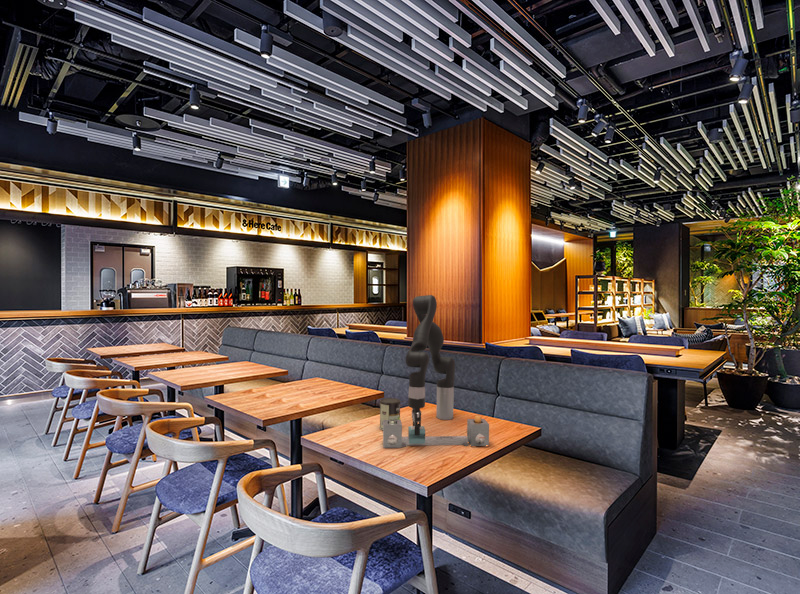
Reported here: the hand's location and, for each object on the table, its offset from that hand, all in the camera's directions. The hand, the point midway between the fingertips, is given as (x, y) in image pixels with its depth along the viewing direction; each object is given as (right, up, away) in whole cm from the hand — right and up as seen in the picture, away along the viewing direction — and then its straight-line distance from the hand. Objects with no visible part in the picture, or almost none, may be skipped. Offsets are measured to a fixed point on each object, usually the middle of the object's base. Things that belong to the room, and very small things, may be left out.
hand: (416, 432), depth 187 cm
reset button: (+28, +2, +2) cm, 28 cm away
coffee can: (-12, -6, +22) cm, 26 cm away
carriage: (0, -4, 0) cm, 4 cm away
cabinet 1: (-11, -5, -1) cm, 12 cm away
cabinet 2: (+28, -6, +2) cm, 29 cm away
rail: (+8, -6, +1) cm, 10 cm away
